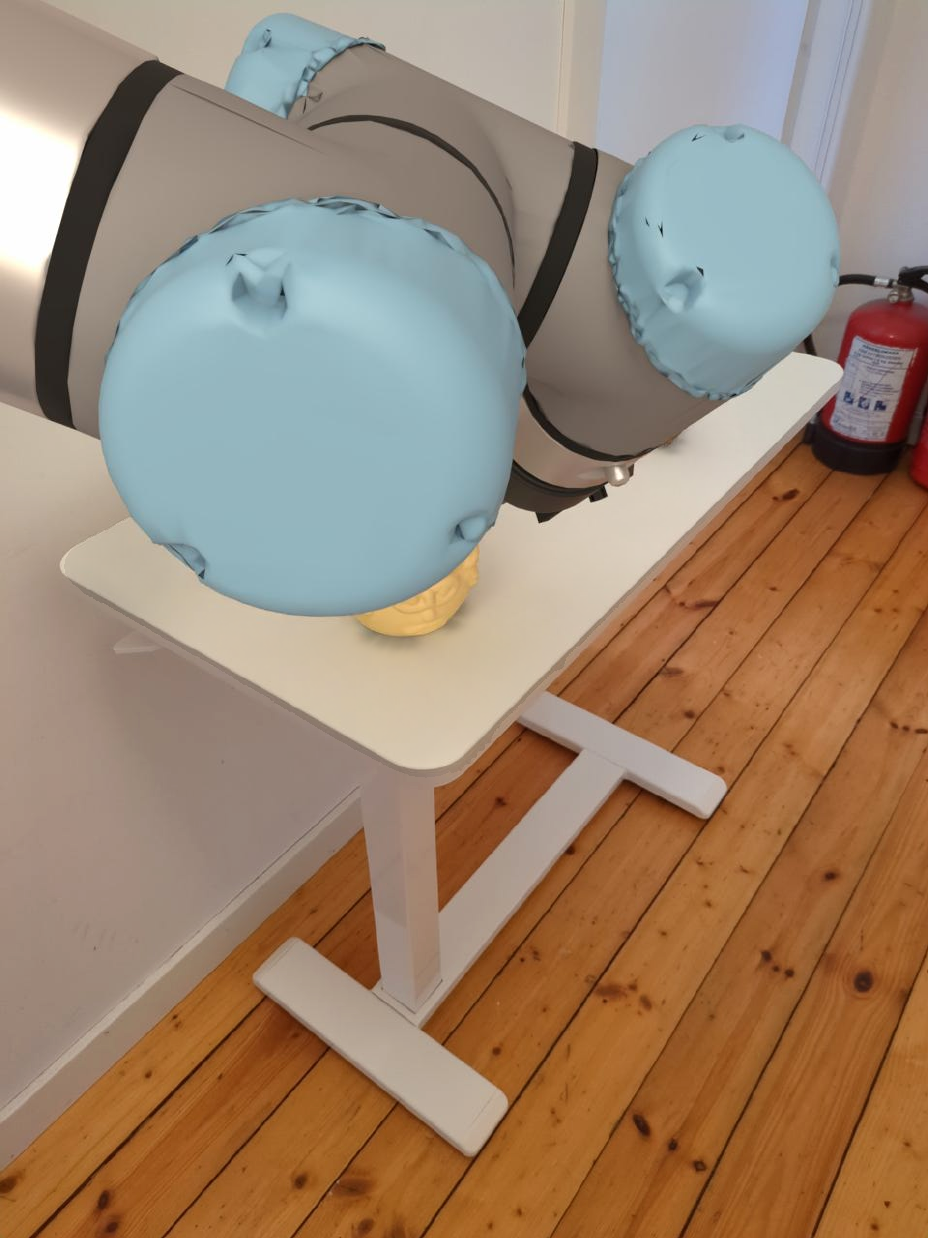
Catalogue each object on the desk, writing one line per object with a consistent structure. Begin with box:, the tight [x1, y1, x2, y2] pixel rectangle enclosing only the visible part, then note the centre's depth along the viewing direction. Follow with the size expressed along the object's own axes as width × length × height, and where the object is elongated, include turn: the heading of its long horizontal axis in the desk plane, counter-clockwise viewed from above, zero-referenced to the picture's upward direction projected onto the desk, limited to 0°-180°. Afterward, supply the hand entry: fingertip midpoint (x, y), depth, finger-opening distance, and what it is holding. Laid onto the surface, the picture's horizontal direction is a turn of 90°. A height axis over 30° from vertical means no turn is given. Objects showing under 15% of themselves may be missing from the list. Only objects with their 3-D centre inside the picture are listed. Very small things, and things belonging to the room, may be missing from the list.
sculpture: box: [352, 543, 480, 638], centre depth 74 cm, size 12×12×11 cm
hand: (448, 527), depth 61 cm, fingers open, 13 cm apart
